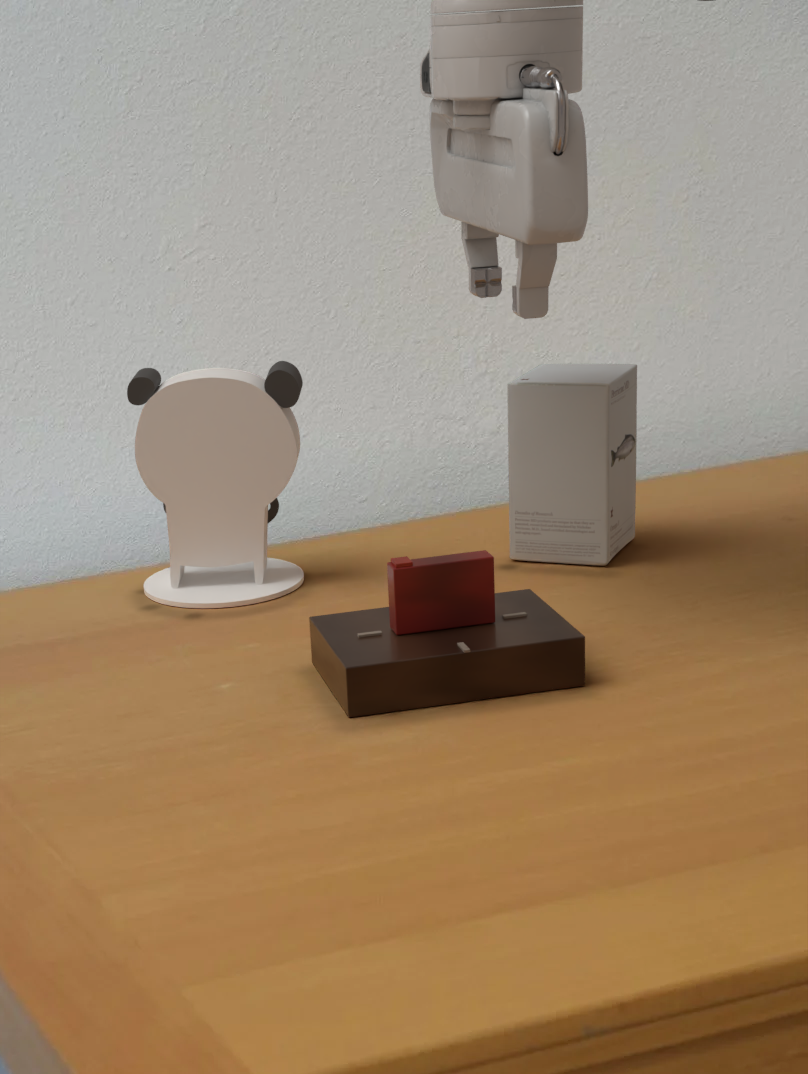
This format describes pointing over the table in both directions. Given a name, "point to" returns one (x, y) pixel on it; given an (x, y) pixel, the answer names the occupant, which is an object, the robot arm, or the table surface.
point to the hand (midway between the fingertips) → (506, 306)
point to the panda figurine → (218, 479)
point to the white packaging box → (572, 462)
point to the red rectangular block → (441, 592)
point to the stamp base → (446, 657)
